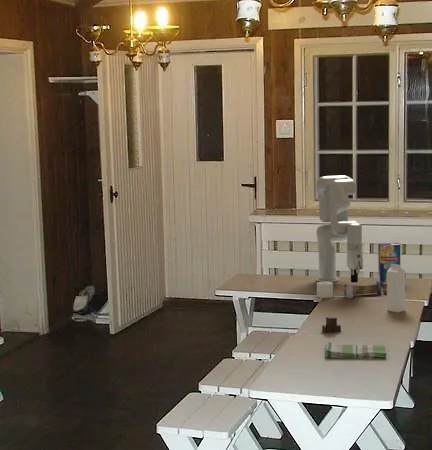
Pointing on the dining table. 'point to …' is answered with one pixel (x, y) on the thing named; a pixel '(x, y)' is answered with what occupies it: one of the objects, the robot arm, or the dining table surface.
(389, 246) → the blue food box
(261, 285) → the dining table surface
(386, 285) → the fence panel
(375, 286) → the brown bar
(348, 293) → the latch post
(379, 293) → the pivot post
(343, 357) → the dish towel
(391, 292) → the milk
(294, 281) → the dining table surface
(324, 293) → the toilet paper
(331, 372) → the dining table surface
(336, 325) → the stack of crates
